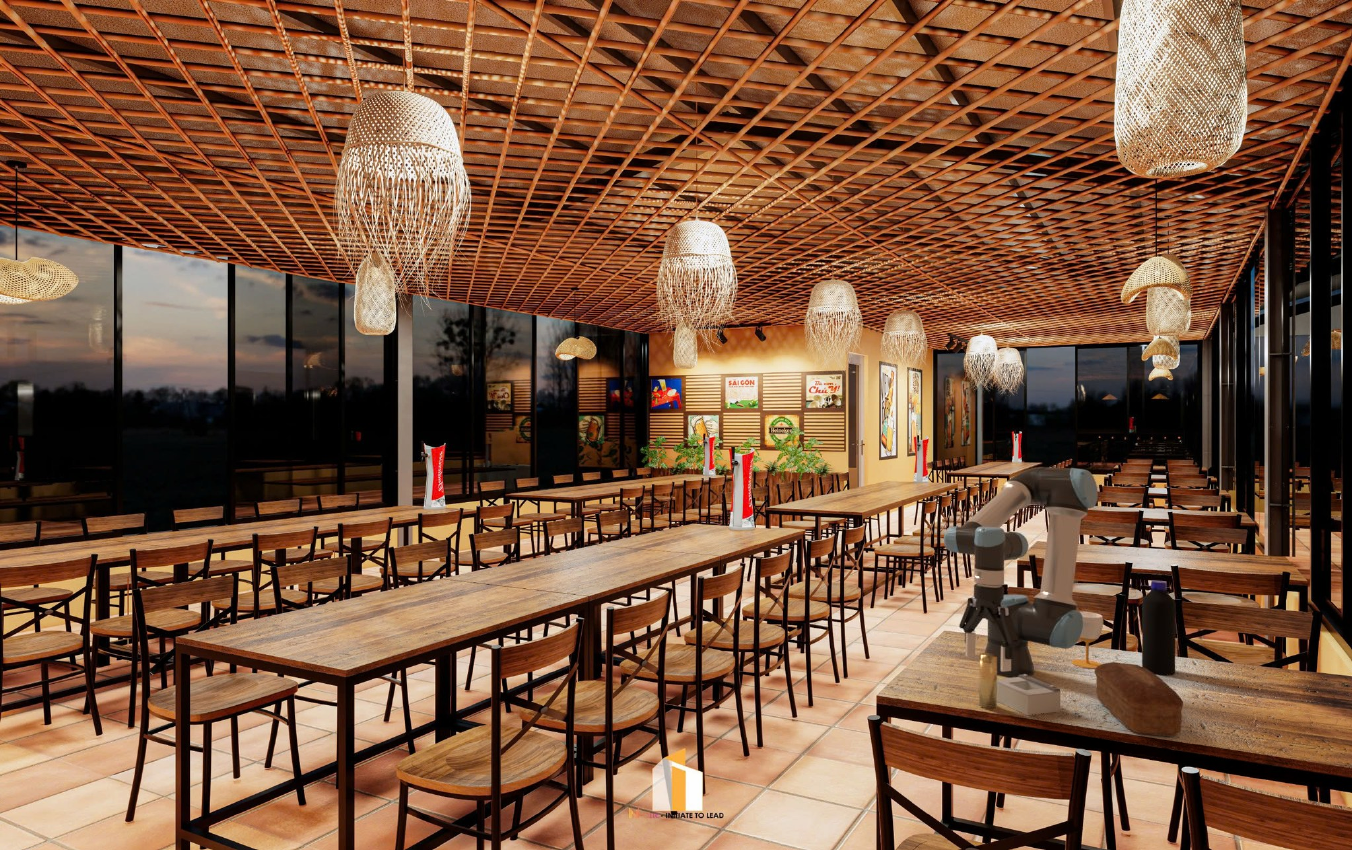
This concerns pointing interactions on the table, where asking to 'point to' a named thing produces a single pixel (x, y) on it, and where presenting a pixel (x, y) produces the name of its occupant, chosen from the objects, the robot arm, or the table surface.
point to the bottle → (1158, 630)
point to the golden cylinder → (988, 681)
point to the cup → (1089, 636)
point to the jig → (1028, 695)
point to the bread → (1139, 699)
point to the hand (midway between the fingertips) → (987, 663)
